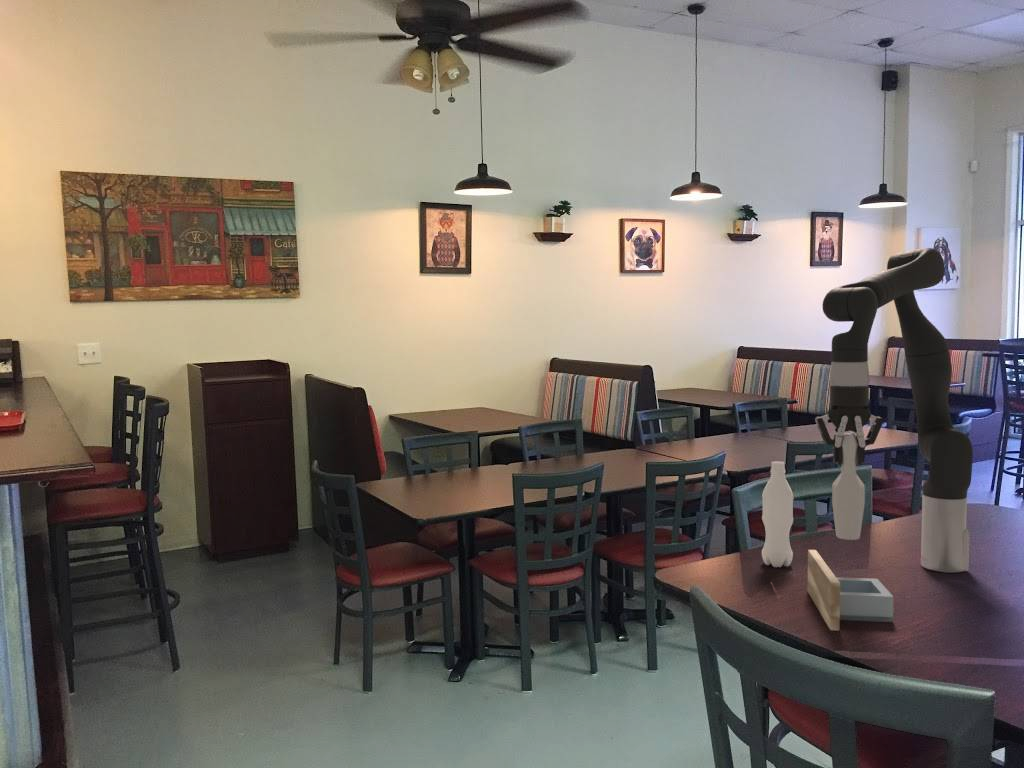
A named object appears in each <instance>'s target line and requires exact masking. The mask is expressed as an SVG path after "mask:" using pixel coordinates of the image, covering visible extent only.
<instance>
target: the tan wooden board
mask: <svg viewBox="0 0 1024 768" xmlns="http://www.w3.org/2000/svg"><path fill="white" fill-rule="evenodd" d="M836 577H837V576H836V575H835V574H834V572H833V571H832V570H831V569H830V567H829V566H828V565H827V563H826V562H825V561H824V559H823V558H822V556H821V555H820V553H819V552H818V551H817V550H816V549H807V593H808V595H809V596H810V599H811V600H812V602H813V603H814V604H815V606H816V608H817V610H818V612H819V613H820V616H821V617H822V619H823V620H824V622H825V623H826V625H827V627H828V629H829V630H830V631H840V625H841V623H840V622H841V620H840V582H839V581H838V579H837V578H836Z"/></svg>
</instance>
